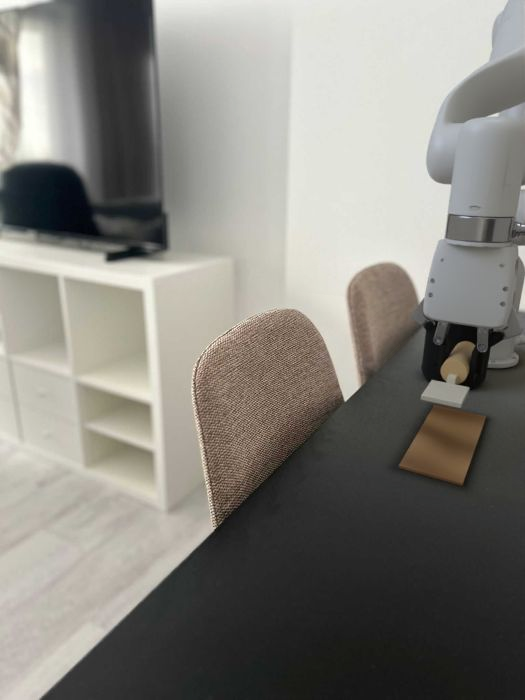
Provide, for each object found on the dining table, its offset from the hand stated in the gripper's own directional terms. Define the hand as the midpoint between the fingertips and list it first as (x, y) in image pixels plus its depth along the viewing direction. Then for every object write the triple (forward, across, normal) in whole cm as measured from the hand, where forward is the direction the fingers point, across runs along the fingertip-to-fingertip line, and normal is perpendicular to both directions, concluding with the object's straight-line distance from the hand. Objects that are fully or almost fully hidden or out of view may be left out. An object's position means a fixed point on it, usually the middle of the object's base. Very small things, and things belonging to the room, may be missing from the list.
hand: (456, 373), depth 67 cm
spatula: (0, 0, +2) cm, 2 cm away
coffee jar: (+10, +4, -22) cm, 25 cm away
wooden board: (+10, 0, +1) cm, 10 cm away
